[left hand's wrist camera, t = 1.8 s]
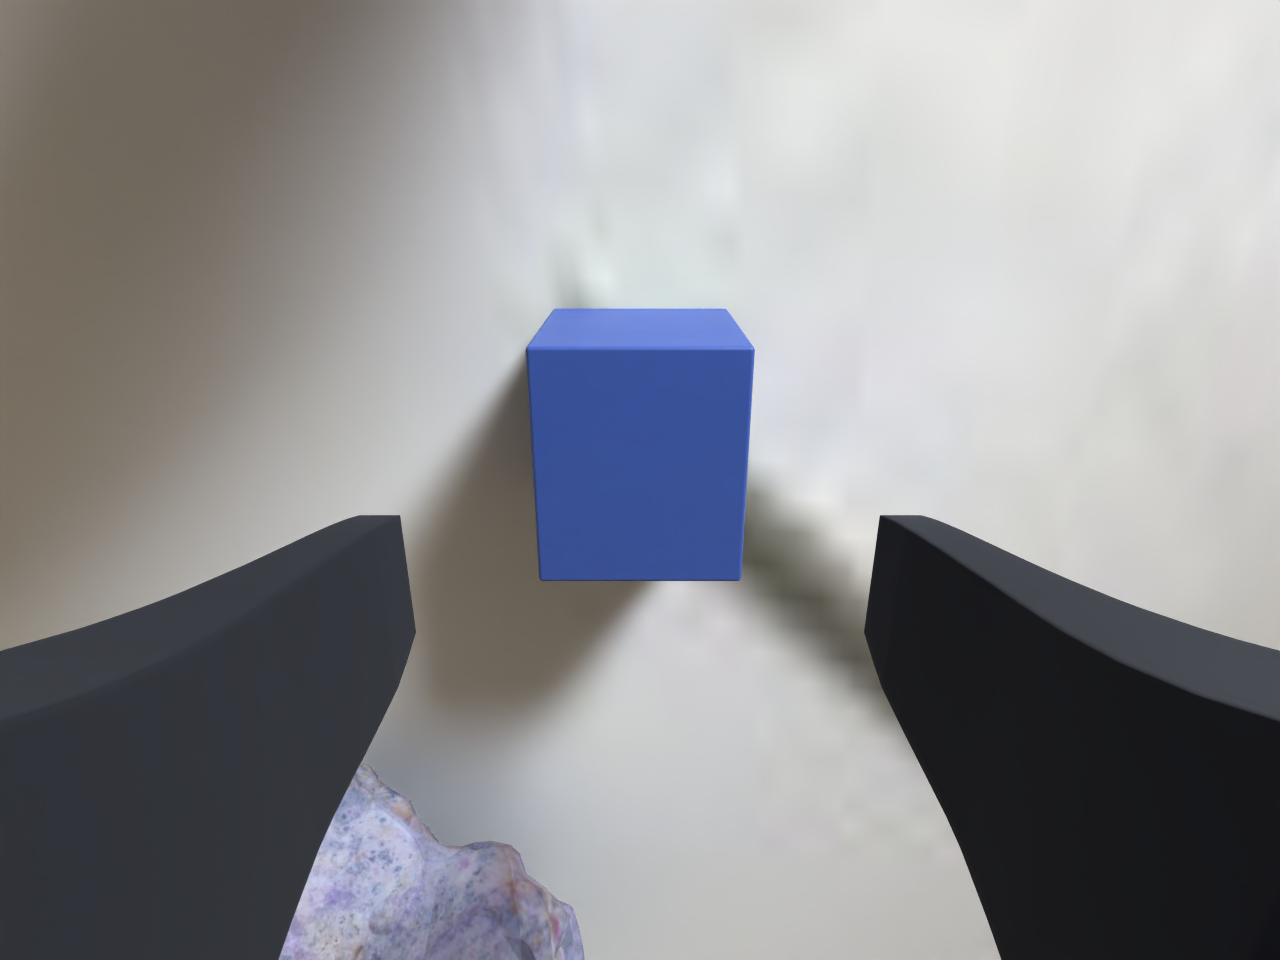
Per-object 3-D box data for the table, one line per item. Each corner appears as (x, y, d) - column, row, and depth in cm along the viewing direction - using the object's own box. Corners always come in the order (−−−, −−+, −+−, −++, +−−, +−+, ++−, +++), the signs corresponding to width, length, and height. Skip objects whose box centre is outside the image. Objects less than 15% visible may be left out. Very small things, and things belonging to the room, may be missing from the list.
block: (561, 495, 20) (538, 582, 16) (553, 308, 18) (525, 346, 14) (718, 495, 20) (741, 582, 16) (727, 308, 18) (755, 346, 14)
